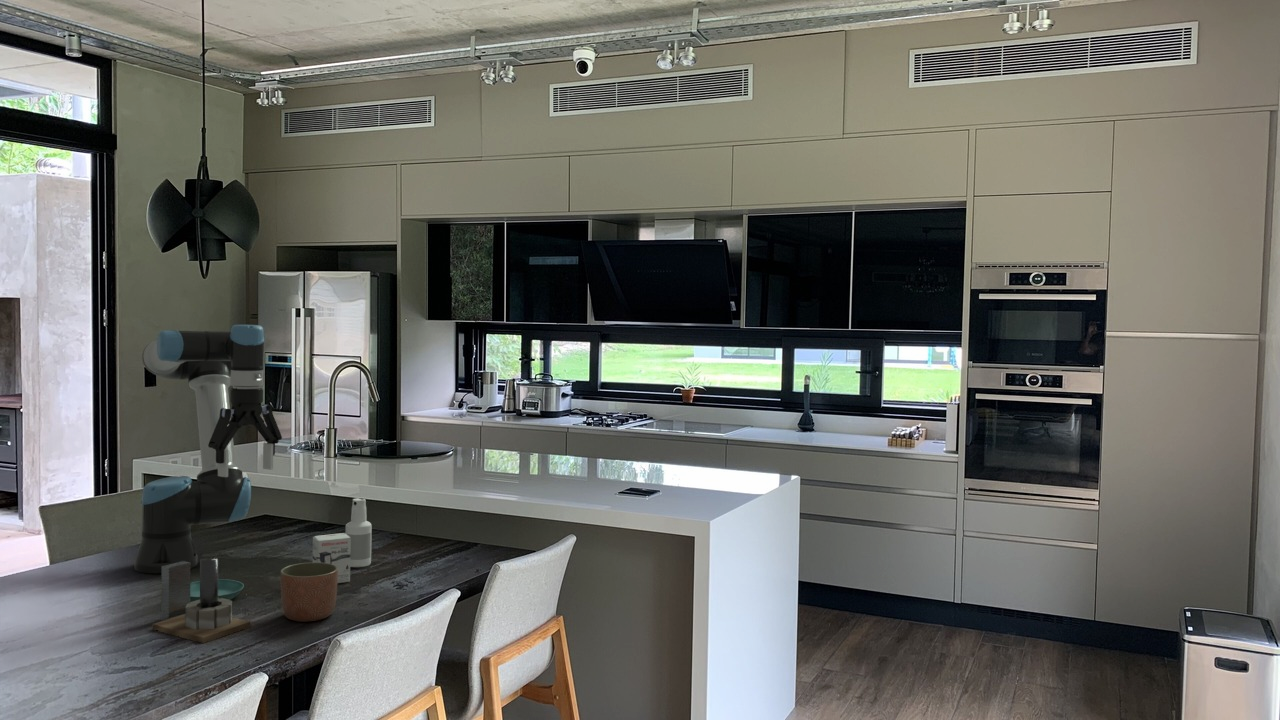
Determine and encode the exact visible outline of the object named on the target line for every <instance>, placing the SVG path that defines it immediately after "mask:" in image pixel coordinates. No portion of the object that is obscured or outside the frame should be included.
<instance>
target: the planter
mask: <svg viewBox="0 0 1280 720" xmlns="http://www.w3.org/2000/svg"><path fill="white" fill-rule="evenodd" d="M337 580H338V567H337V566H336V565H333V564H329V563H321V562H313V561H310V562H309V561H308V562H302V563H301V562H300V563H295V564H290V565H287V566H285V567H283V568H281V569H280V602H281V608H282V609H281V610H282V613H283V615H284V616H285V617H286V618H287V619H289V620H291V621H294V622H302V623H303V622H304V623H307V622H315V621H320V620H323V619H326V618H327V617H330V615H331V614H332V613H334V611H335V608H336V603H337V597H338V596H337V595H338V583H337Z"/></svg>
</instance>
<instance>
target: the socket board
mask: <svg viewBox="0 0 1280 720" xmlns="http://www.w3.org/2000/svg"><path fill="white" fill-rule="evenodd" d="M151 626H152V627H151V629H152V631H156V630H158V631H157V632H160V633H163V632H164V634H167V633H169V634H168V635H171V634H172V635H171V636H174V635H175V636H176V637H178V636H179V637H178V638H181V639H182V638H183V639H186V640H189V639H191V640H190V641H194V642H197V641H198V642H197V643H201V642H202V644H205V642H206V643H208V642H210V641H214V640H217V639H221V638H222V636H223V637H225V635H226V636H229V635H231V634H235V633H238V632H240V630H241V631H243V630H247V629H249V628H251V621H248V620H245V619H241V618H237V617H233V600H232V599H231V600H228V599H224V598H220V599H219V598H218V606H216V607H213V608H200V600H196V601H193V602H190V603H189V604H187V605H186V608H185V614H184V615H181V616H177V617H174V618H171V619H168V620H161V621H158V622H155V623H152V624H151ZM242 629H243V630H242ZM237 631H238V632H237ZM234 632H235V633H234ZM228 634H229V635H228ZM216 638H217V639H216ZM213 639H214V640H213ZM207 641H208V642H207Z"/></svg>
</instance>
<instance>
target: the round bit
mask: <svg viewBox="0 0 1280 720" xmlns="http://www.w3.org/2000/svg"><path fill="white" fill-rule="evenodd" d="M218 579H219V557H217V556H206V557H202V558H200V559H199V581H200V608H213V607H216V606H218Z"/></svg>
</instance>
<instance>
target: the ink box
mask: <svg viewBox="0 0 1280 720" xmlns="http://www.w3.org/2000/svg"><path fill="white" fill-rule="evenodd" d="M350 552H351V538H350V537H349V536H348V535H347V534H346V532H342V533H341V532H339V533H332V534H324V535H322V534H321V535H314V536H312V562H321V563H329V564H333V565H336V566H337V567H338V580H337V584H342V583H350V582H351V567H350Z"/></svg>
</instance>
